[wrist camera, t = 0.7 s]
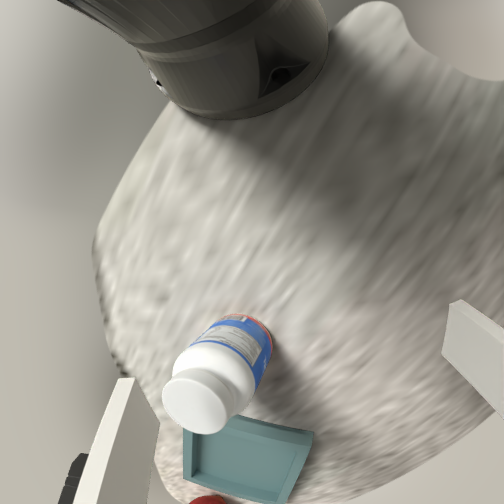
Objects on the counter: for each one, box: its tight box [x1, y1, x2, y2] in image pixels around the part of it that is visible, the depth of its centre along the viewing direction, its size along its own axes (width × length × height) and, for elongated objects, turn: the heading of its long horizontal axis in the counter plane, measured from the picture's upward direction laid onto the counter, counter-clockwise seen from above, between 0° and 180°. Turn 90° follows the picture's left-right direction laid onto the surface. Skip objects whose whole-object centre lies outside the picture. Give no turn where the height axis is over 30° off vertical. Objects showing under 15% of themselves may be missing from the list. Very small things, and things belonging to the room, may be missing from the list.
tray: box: [183, 415, 314, 504], centre depth 24 cm, size 12×12×2 cm
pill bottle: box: [162, 314, 272, 434], centre depth 19 cm, size 6×5×10 cm
